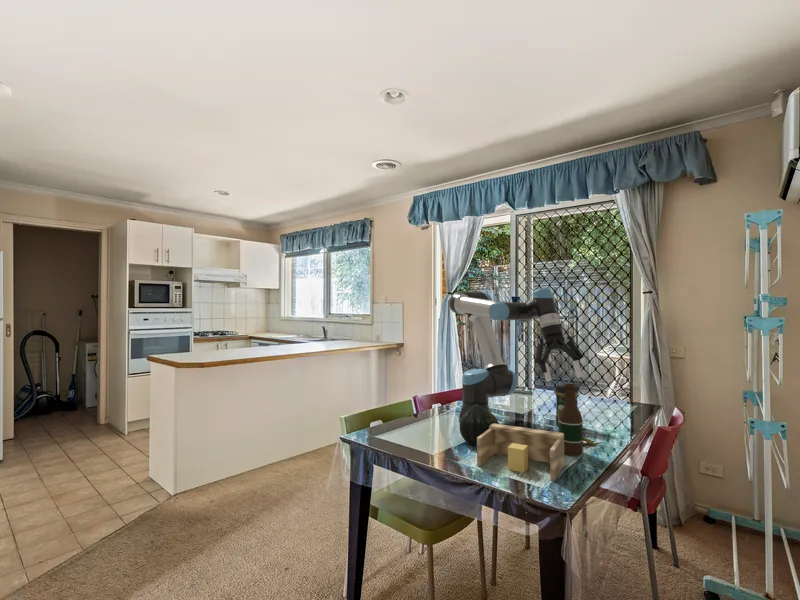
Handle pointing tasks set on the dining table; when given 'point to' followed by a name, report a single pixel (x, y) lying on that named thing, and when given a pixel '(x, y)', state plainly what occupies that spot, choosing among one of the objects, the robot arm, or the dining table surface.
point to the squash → (476, 423)
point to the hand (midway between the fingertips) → (564, 379)
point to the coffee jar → (562, 399)
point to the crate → (539, 444)
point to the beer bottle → (571, 423)
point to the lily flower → (588, 440)
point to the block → (518, 457)
